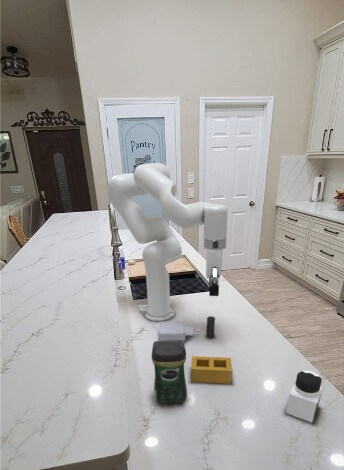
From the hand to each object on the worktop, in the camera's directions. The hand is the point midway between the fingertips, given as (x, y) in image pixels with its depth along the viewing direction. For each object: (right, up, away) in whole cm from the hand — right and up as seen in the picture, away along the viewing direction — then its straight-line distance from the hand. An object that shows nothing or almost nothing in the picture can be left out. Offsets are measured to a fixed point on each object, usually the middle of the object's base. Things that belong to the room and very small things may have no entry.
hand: (213, 290), depth 119 cm
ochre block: (-3, -29, -13) cm, 32 cm away
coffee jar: (-16, -33, -21) cm, 43 cm away
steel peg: (0, -17, +8) cm, 19 cm away
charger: (-12, -17, +8) cm, 23 cm away
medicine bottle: (+21, -36, -27) cm, 50 cm away
